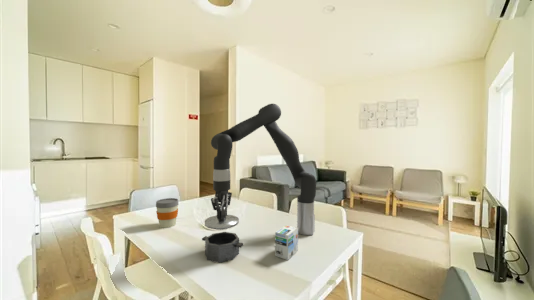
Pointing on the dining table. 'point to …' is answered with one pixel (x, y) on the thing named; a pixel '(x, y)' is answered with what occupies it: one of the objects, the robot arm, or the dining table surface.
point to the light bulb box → (286, 242)
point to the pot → (222, 246)
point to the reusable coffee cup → (167, 212)
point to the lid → (222, 221)
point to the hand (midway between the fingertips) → (222, 217)
